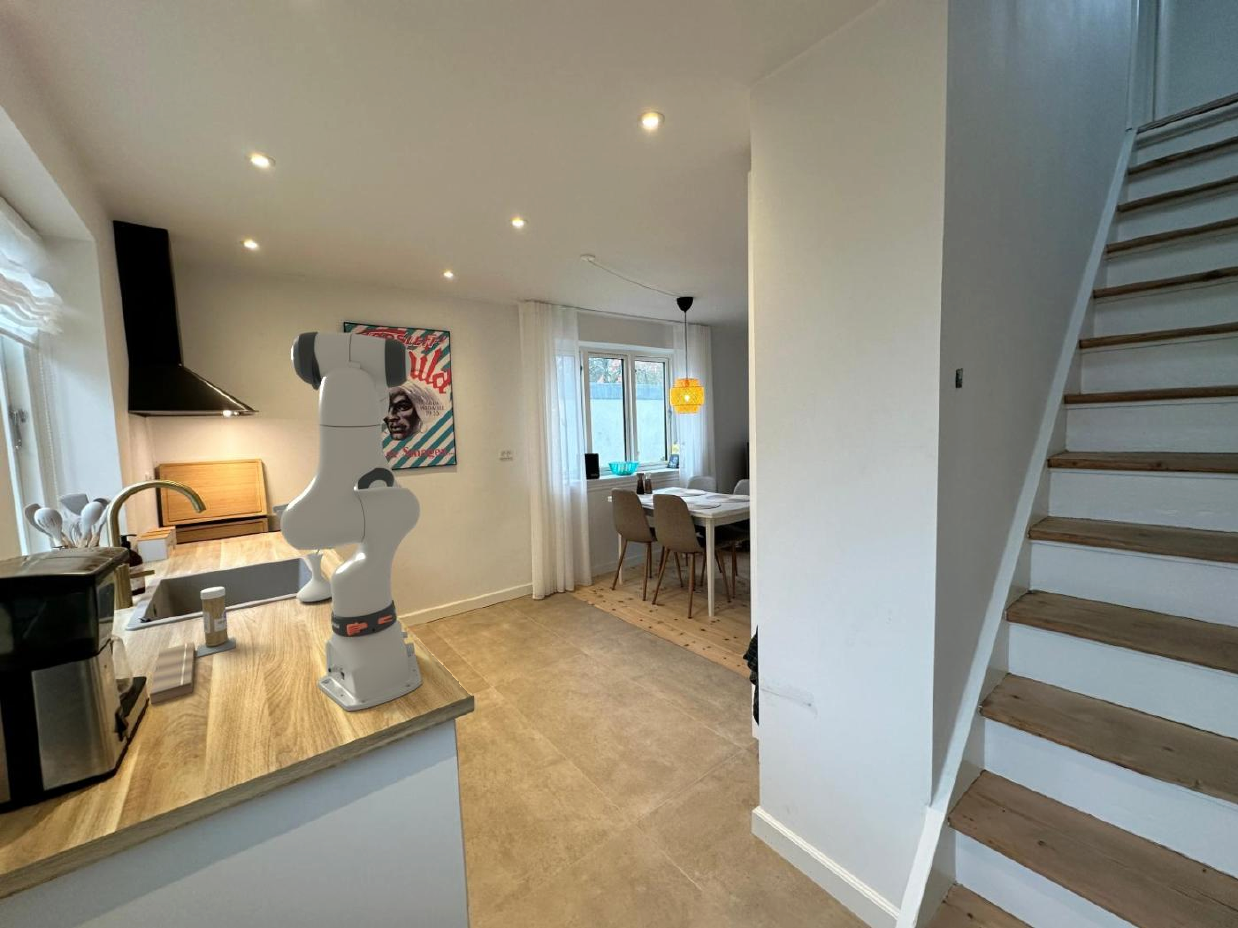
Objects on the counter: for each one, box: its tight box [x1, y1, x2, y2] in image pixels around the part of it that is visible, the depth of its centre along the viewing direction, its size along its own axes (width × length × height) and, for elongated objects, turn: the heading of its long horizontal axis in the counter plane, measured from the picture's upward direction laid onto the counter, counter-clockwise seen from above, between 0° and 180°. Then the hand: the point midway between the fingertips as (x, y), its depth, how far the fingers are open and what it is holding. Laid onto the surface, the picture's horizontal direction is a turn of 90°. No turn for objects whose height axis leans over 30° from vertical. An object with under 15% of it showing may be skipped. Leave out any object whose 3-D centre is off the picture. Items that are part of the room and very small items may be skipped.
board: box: [149, 641, 196, 705], centre depth 106 cm, size 24×6×2 cm, turn 40°
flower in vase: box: [296, 548, 333, 602], centre depth 148 cm, size 13×11×25 cm
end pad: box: [196, 636, 237, 658], centre depth 118 cm, size 7×7×1 cm
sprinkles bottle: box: [200, 586, 230, 646], centre depth 119 cm, size 5×5×13 cm
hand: (274, 512), depth 122 cm, fingers open, 8 cm apart
